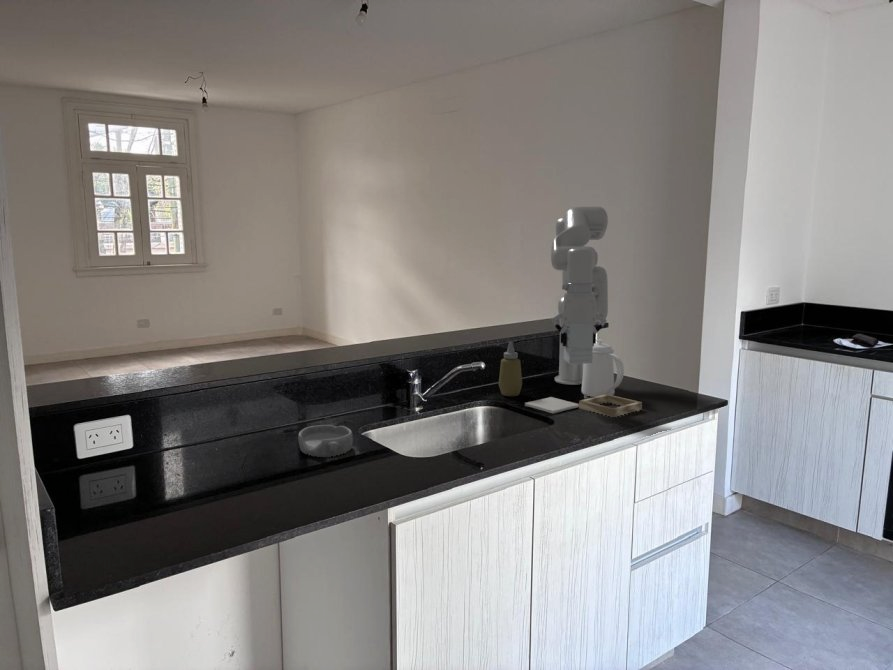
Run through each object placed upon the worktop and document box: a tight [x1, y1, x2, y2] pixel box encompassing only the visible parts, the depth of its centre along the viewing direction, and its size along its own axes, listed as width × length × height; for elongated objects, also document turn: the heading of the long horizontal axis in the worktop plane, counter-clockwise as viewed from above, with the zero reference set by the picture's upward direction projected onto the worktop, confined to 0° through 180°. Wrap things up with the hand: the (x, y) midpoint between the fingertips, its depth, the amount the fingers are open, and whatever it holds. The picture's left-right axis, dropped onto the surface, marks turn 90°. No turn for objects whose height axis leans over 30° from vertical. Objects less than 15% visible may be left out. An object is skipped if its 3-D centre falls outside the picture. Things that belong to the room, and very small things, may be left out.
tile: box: [524, 396, 579, 414], centre depth 210 cm, size 12×12×1 cm
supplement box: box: [564, 323, 593, 364], centre depth 205 cm, size 7×7×13 cm
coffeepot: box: [581, 338, 625, 398], centre depth 223 cm, size 11×25×19 cm, turn 25°
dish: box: [297, 424, 354, 458], centre depth 170 cm, size 14×14×5 cm
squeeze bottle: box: [498, 341, 523, 397], centre depth 223 cm, size 8×8×18 cm
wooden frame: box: [578, 394, 643, 418], centre depth 205 cm, size 13×13×2 cm
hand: (577, 345), depth 205 cm, fingers closed on supplement box, 8 cm apart
